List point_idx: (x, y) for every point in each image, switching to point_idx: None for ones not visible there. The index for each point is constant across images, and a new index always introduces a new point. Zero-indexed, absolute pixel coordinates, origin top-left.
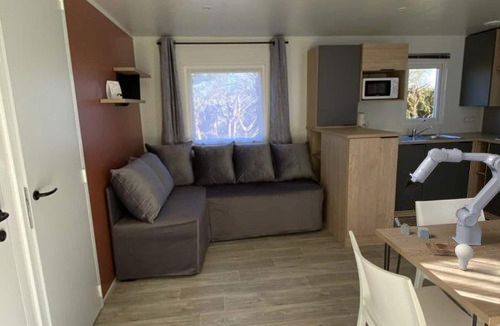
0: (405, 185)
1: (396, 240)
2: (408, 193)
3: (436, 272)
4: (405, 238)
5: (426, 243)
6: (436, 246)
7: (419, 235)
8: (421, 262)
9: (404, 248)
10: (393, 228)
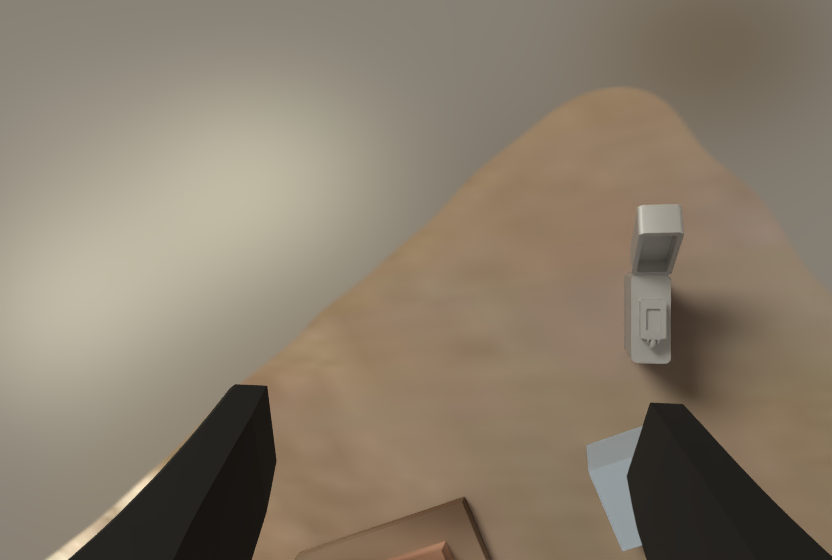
0: (107, 528)
1: (439, 272)
2: (630, 464)
3: None
4: (521, 332)
5: (457, 504)
6: None
7: (605, 445)
8: None
9: (318, 352)
10: (733, 188)
